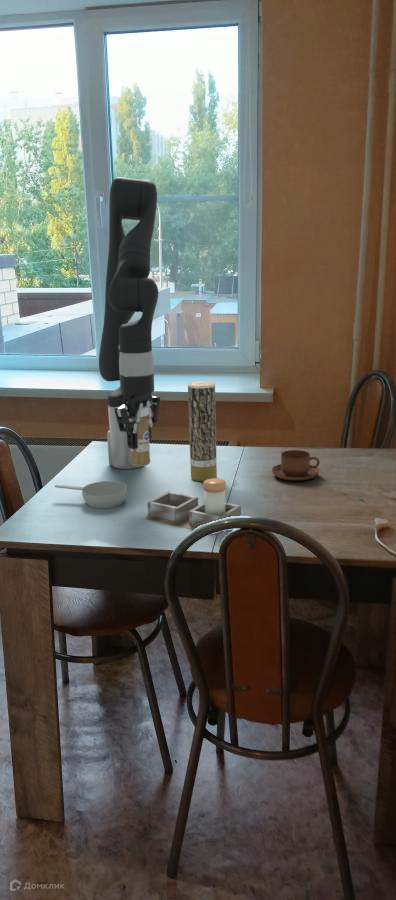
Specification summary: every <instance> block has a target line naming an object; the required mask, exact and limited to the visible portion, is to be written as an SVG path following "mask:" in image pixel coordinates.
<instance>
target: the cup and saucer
mask: <svg viewBox="0 0 396 900" xmlns="http://www.w3.org/2000/svg"><path fill="white" fill-rule="evenodd" d="M280 458H281V459H280V461H281V462H280V463H281V464H277V465H275V466H273V467H272V469H271V472H272V474H273V475H274V476H275V477H277V478H280V479H281V480H286V481H298V482H301V481H307V480H310V479H313V478H315V477H316V476H317V475H318V474H319V472H320V469H319V468H318V467H319V465H320V460H319V458H318V457H316V456H311V455H310V453H309V452H308V451H305V450H299V449H296V450H295V449H290V450H286V451H282V452H281V454H280ZM312 460H315V461H316V463H315V464H314V465H312V464H310V461H312Z"/></svg>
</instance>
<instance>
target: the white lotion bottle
mask: <svg viewBox="0 0 396 900" xmlns="http://www.w3.org/2000/svg"><path fill="white" fill-rule="evenodd" d="M203 490H204V495H203V496H204V502H205V513H207V514H212V515H216V516H221V515H223V514H225V503H226V480H224V479H222V478H217V477H216V478H213V479H207V480H205V481H204V482H203Z"/></svg>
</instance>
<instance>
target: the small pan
mask: <svg viewBox="0 0 396 900" xmlns="http://www.w3.org/2000/svg"><path fill="white" fill-rule="evenodd" d="M54 488H56V489H67V490H77V491H81V494H82V498H83V500H84V502H85V503H86V504H87V505H88V506H89V507H91V508H96V509H108V508H114V507H118V506H120V505H121V504H123V502H124V501H125V499H126V497H127V495H128V485H126V483H124V482H121V481H115V480H106V481H96V482H91V483H89V484H87V485H85V486H76V485H67V484H60V483H59V484H58V483H57V484H54Z"/></svg>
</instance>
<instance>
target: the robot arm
mask: <svg viewBox="0 0 396 900" xmlns="http://www.w3.org/2000/svg"><path fill="white" fill-rule="evenodd" d="M157 190H158V189H157V187H156V184H155V183H154V182H153V181H151V180H148V179H147V180H146V179H139V178H132V177H129V178H128V177H122V176H121V177H120V176H118V177H117V176H116V177H114V178H113V180H112V181H111V185H110V190H109V205H108V206H109V210H108V211H109V214H108V215H109V216H108V217H109V218H108V219H109V223H108V225H109V229H108V230H109V231H108V232H109V233H108V234H109V235H108V238H109V239H108V256H107V263H106V265H107V266H106V274H105V275H106V277H105V293H104V294H105V296H104V297H105V300H104V301H105V302H104V316H103V317H104V318H103V324H102V325H103V327H102V333H101V340H100V345H99V346H100V347H99V353H98V369H99V373H100V376H101V378H102V379H103V380H104V381H106V382H118V381H119V387H118V388H116V389H115V390H113V391H112V392H110V393H109V394H108V395H107V410H108V411H107V412H108V423H109V425H108V426H109V430H108V431H107V432H106V437H107V438H106V440H107V452H108V453H107V454H108V456H107V457H108V465H110V466H112V467H113V468H115V469H119V470H120V469H121V470H131V469H137V468H142V466H135V465H132V464H131V450H130V449H137V448H138V442H137V433H136V432H137V425H138V423H139V422H140V411H141V410H142V409H143V407H144V406H145V407H148V408H149V415H148V426H149V443H150V444H151V443H152V427H153V424H155V423H157V422H158V419H159V409H160V403H161V397H159V396H153V395H152V393H154V392H155V375H154V373H155V372H154V371H155V370H154V369H155V368H154V367H155V366H154V358H153V350H152V349H153V345H152V344H153V343H152V341H153V340H152V327H153V319H154V315H155V312H156V308H157V303H158V299H159V287H158V285H157V284H156V282H155V281H154V280H153V279H152V278H150V277H149V276H150V271H151V245H152V240H153V235H154V230H155V229H154V228H155V221H156V214H157V207H158V191H157ZM123 220H131V221H139V222H138V223H137V224H135V226H134V227H133V228H131V229H130V230H129V231H128V232H127V233H126V234H125V231H124V227H123ZM140 312H141V317H140V318H139V319H137V320H135V321H131V322H130V320H131V319H132V318H133V316H134V314H135V313H140ZM130 416H132V417H135V419H130ZM131 422H132V423H133V425H132V428H131Z"/></svg>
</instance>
